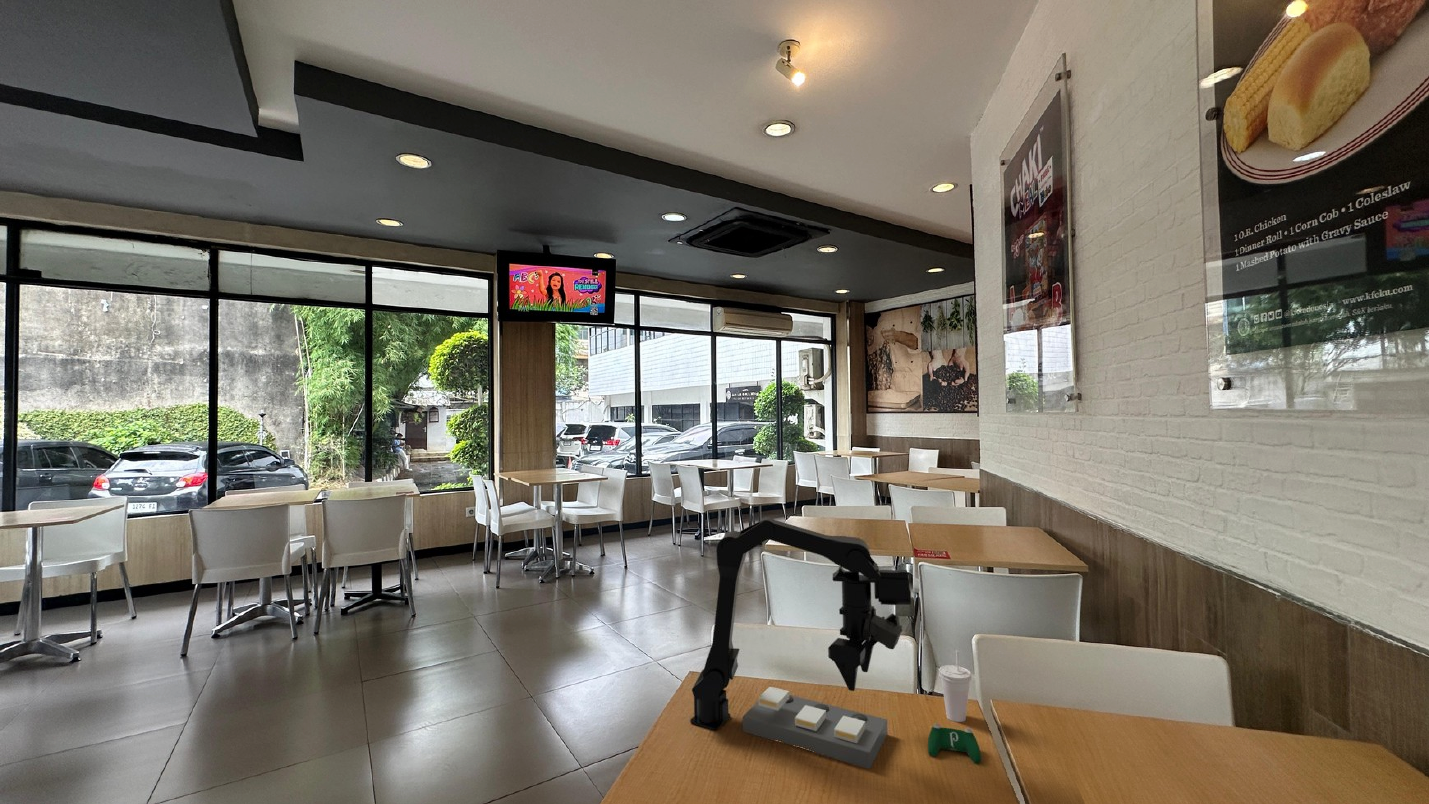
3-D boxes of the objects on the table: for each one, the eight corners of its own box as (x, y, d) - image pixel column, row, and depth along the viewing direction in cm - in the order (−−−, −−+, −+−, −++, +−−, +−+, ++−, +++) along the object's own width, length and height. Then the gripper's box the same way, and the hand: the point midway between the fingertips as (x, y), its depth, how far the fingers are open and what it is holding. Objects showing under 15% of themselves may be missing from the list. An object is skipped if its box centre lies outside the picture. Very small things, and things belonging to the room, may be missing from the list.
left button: (758, 705, 119) (758, 698, 119) (770, 693, 124) (769, 686, 124) (777, 710, 116) (777, 703, 117) (789, 698, 121) (789, 691, 121)
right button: (833, 737, 111) (833, 729, 111) (843, 723, 116) (843, 715, 116) (856, 743, 108) (856, 735, 108) (865, 728, 113) (865, 721, 113)
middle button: (794, 725, 115) (794, 717, 115) (805, 712, 120) (805, 705, 120) (816, 731, 112) (815, 723, 112) (826, 717, 117) (825, 710, 117)
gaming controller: (980, 769, 108) (977, 734, 112) (982, 762, 106) (978, 727, 110) (928, 760, 111) (926, 726, 115) (928, 753, 109) (927, 719, 113)
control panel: (742, 731, 119) (742, 715, 119) (769, 703, 130) (769, 688, 130) (869, 769, 106) (869, 751, 106) (887, 734, 117) (887, 718, 117)
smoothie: (975, 726, 119) (974, 658, 119) (942, 723, 120) (941, 655, 121) (968, 710, 125) (967, 645, 126) (937, 708, 127) (936, 643, 127)
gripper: (885, 624, 105) (887, 711, 105) (908, 595, 121) (909, 670, 121) (826, 614, 111) (828, 697, 110) (855, 588, 127) (857, 660, 126)
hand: (858, 680), depth 117 cm, fingers open, 9 cm apart
